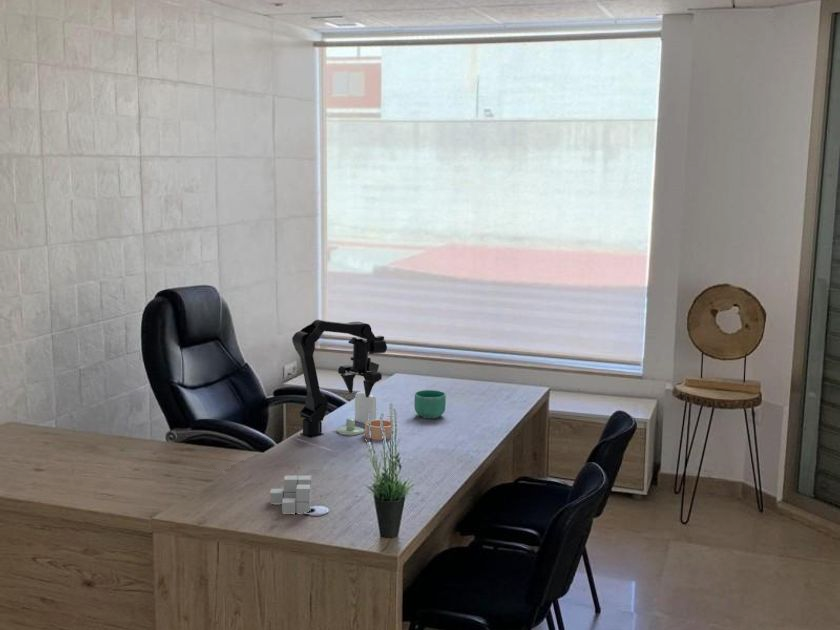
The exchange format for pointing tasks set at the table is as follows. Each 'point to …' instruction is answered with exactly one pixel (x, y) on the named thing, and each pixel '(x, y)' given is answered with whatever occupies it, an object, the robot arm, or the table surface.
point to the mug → (430, 403)
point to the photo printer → (364, 407)
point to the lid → (350, 428)
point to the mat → (346, 435)
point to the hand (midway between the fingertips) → (359, 395)
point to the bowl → (378, 429)
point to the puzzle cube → (293, 494)
